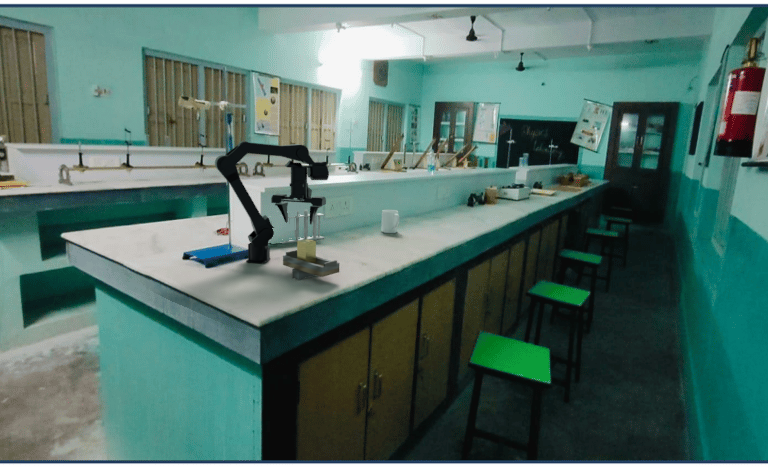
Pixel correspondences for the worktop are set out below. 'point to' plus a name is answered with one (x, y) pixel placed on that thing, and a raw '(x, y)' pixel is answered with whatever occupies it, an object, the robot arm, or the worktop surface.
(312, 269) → the grey open tray
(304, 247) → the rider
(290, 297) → the worktop surface
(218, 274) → the worktop surface
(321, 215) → the test tube rack
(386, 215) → the mug
